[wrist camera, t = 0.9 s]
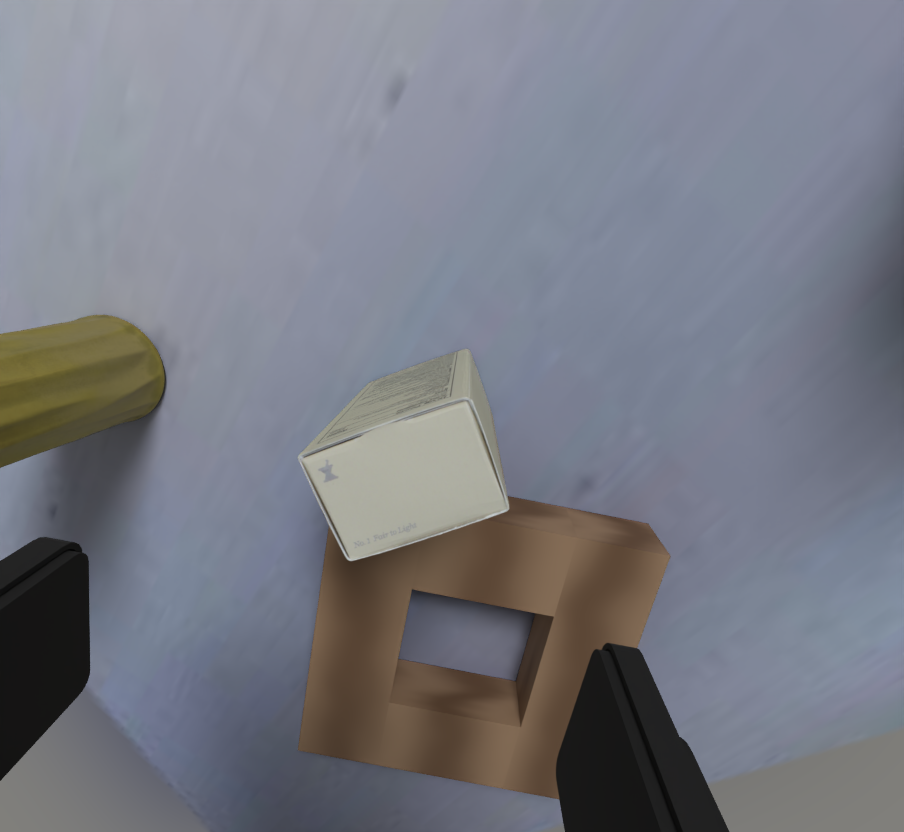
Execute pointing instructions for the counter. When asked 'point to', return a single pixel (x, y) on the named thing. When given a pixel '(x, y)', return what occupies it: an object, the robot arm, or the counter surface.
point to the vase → (73, 382)
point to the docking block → (462, 693)
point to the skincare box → (408, 459)
